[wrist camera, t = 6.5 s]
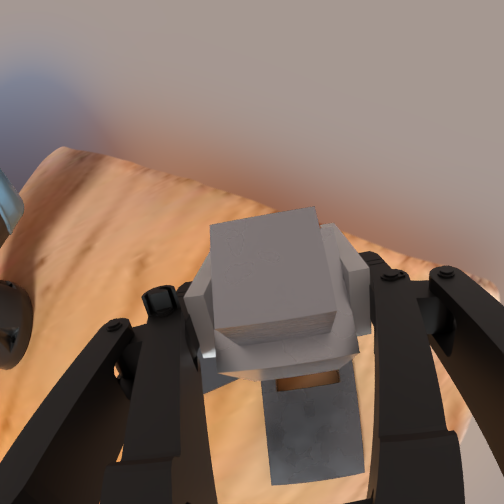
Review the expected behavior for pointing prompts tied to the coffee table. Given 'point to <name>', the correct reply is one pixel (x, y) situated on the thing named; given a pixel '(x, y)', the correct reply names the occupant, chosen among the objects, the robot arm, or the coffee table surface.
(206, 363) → the pad
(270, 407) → the slotted plate
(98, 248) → the coffee table surface
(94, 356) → the robot arm
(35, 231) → the coffee table surface
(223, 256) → the stepped metal tower
